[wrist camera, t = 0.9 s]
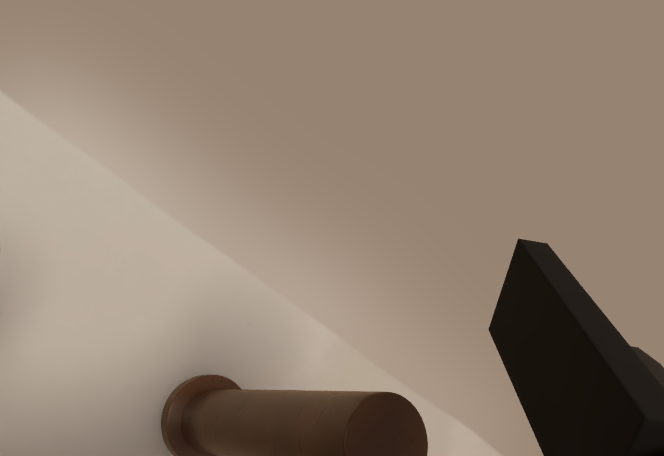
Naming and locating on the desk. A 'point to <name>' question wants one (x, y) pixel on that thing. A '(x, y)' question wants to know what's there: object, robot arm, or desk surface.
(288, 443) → the brown cylinder rod
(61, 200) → the desk surface
